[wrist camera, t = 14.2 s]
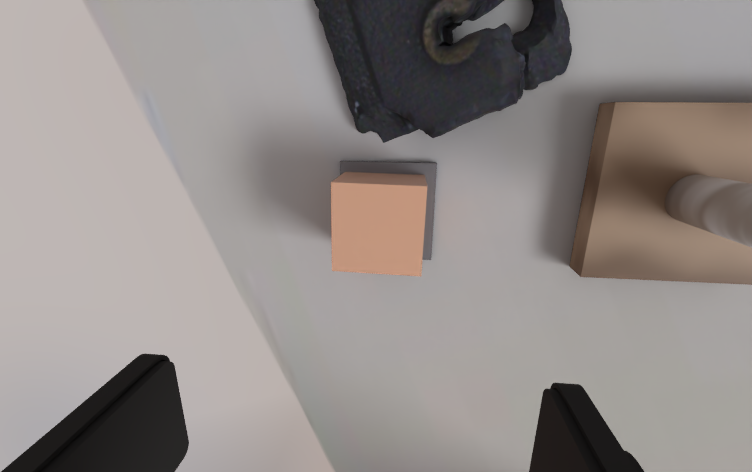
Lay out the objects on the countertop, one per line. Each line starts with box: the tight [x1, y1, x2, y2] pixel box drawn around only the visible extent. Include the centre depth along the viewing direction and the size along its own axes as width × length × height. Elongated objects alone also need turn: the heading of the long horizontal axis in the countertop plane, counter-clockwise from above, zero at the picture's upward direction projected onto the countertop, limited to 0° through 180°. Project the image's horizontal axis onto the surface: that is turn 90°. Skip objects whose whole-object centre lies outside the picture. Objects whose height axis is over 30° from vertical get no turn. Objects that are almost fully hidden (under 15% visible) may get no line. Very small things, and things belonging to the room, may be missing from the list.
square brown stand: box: [570, 102, 752, 285], centre depth 22 cm, size 12×12×9 cm
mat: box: [340, 161, 437, 260], centre depth 28 cm, size 8×7×1 cm
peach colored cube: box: [331, 172, 427, 276], centre depth 26 cm, size 6×6×5 cm
